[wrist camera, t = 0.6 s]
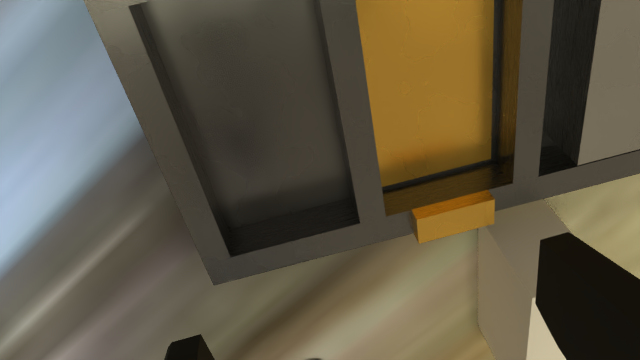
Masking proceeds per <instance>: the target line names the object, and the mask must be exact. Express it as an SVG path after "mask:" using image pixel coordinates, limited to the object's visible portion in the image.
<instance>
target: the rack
mask: <svg viewBox="0 0 640 360" xmlns="http://www.w3.org/2000/svg"><path fill="white" fill-rule="evenodd" d="M84 2H85V4H86V7H87V9H88V11H89V13H90V15H91V18H92V20H93V22H94V24H95V26H96V28H97V31H98V33H99V35H100V37H101V39H102V42H103V44H104V46H105V48H106V50H107V53H108V55H109V57H110V59H111V61H112V64H113V66H114V68H115V70H116V72H117V74H118V77H119V79H120V81H121V83H122V85H123V88H124V90H125V92H126V94H127V96H128V99H129V101H130V103H131V105H132V107H133V110H134V112H135V114H136V116H137V118H138V120H139V123H140V125H141V127H142V129H143V131H144V134H145V136H146V138H147V140H148V142H149V145H150V147H151V149H152V151H153V153H154V156H155V158H156V160H157V162H158V164H159V167H160V169H161V171H162V173H163V175H164V177H165V180H166V182H167V184H168V186H169V188H170V191H171V193H172V195H173V197H174V199H175V202H176V204H177V206H178V208H179V210H180V213H181V215H182V217H183V219H184V221H185V223H186V226H187V228H188V230H189V232H190V234H191V237H192V239H193V241H194V243H195V245H196V248H197V250H198V252H199V254H200V256H201V259H202V261H203V263H204V265H205V267H206V270H207V272H208V274H209V276H210V278H211V280H212V283H213V285H218V284H222V283H225V282H229V281H233V280H237V279H241V278H244V277H248V276H252V275H256V274H260V273H263V272H267V271H271V270H275V269H279V268H282V267H286V266H290V265H294V264H298V263H301V262H305V261H309V260H313V259H317V258H320V257H324V256H328V255H332V254H336V253H339V252H343V251H347V250H351V249H355V248H358V247H362V246H366V245H370V244H374V243H377V242H381V241H385V240H389V239H393V238H396V237H400V236H404V235H408V234H412V233H414V235H415V237H416V239H417V241H418V243H423V242H427V241H431V240H435V239H438V238H442V237H446V236H450V235H453V234H457V233H461V232H465V231H469V230H472V229H476V228H480V227H484V226H488V225H491V224H494V212H495V211H499V210H503V209H506V208H510V207H514V206H518V205H522V204H525V203H529V202H533V201H537V200H541V199H544V198H548V197H552V196H556V195H560V194H563V193H567V192H571V191H575V190H579V189H582V188H586V187H590V186H594V185H598V184H601V183H605V182H609V181H613V180H617V179H620V178H624V177H628V176H632V175H636V174H639V173H640V0H84Z"/></svg>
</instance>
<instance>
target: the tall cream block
mask: <svg viewBox="0 0 640 360" xmlns="http://www.w3.org/2000/svg"><path fill="white" fill-rule="evenodd" d="M566 232H569V233H571V232H570V230H569V229H568V228H567V227H566V226H565V224H564V223H563V222H562V221H561V220H560V219H559V217H558V216H557V215H556V214H555V213H554V211H553V210H552V209H551V208H550V207H549V205H548V204H547V203H546V202H545V201H544V199H541V200H537V201H533V202H529V203H525V204H522V205H518V206H514V207H510V208H506V209H503V210H499V211H495V212H494V224H491V225H488V226H484V227H480V228H478V326H479V328H480V330H481V332H482V334H483V335H484V337H485V339H486V341H487V343H488V345H489V347H490V349H491V351H492V353H493V355H494V357H495V359H496V360H566V358H565V357H564V355H563V354H562V352H561V351H560V349H559V348H558V346H557V344H556V342H555V340H554V339H553V337H552V335H551V333H550V331H549V329H548V327H547V325H546V324H545V322H544V320H543V318H542V316H541V314H540V312H539V310H538V308H537V306H536V304H535V300H536V287H537V274H538V261H539V248H540V240H541V239H545V238H548V237H552V236H556V235H559V234H563V233H566ZM571 234H572V233H571ZM572 235H573V234H572Z"/></svg>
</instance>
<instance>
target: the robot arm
mask: <svg viewBox="0 0 640 360" xmlns="http://www.w3.org/2000/svg"><path fill="white" fill-rule="evenodd" d="M535 304H536V306H537V308H538V310H539V312H540V314H541V316H542V318H543V320H544V322H545V324H546V325H547V327H548V329H549V331H550V333H551V335H552V337H553V339H554V340H555V342H556V344H557V346H558V348H559V349H560V351H561V352H562V354H563V355H564V357H565V358H566V360H640V279H638V278H637V277H635V276H634V275H632V274H631V273H629V272H628V271H626V270H625V269H623V268H622V267H620V266H619V265H617V264H616V263H614V262H613V261H611V260H610V259H608V258H607V257H605V256H604V255H602V254H601V253H599V252H598V251H596V250H595V249H593V248H592V247H590V246H589V245H587V244H586V243H584V242H583V241H581V240H580V239H578V238H577V237H575V236H574V235H572V234H571V233H569V232H566V233H563V234H559V235H556V236H552V237H548V238H545V239H541V240H540V248H539V261H538V274H537V287H536V300H535ZM164 360H215V359H214V358H213V356H212V354H211V352H210V350H209V348H208V347H207V345H206V343H205V341H204V339H203V337H202V336H201V334H200V335H196V336H193V337H189V338H186V339H182V340H178V341H175V342H172V343H171V344H170V346H169V347H168V350H167V353H166V356H165V359H164Z"/></svg>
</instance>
